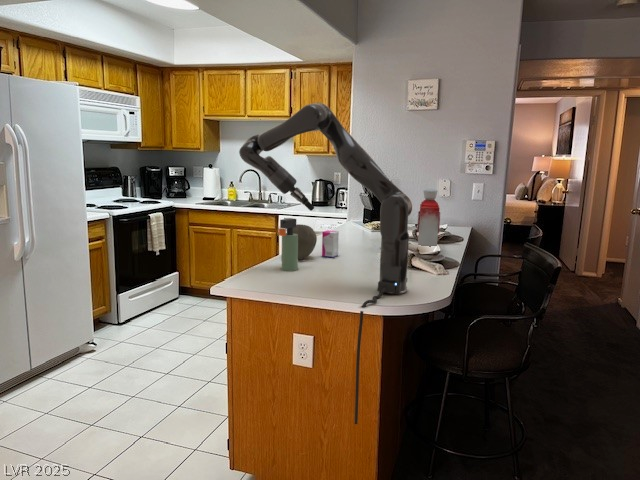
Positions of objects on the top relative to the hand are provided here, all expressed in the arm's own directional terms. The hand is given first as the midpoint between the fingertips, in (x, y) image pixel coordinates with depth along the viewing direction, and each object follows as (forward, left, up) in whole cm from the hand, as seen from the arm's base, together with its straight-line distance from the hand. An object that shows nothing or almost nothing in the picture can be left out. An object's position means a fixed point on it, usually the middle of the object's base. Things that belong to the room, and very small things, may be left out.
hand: (312, 208), depth 196 cm
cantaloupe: (+11, +9, -24) cm, 28 cm away
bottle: (+48, -42, -24) cm, 68 cm away
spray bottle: (-9, +6, -24) cm, 26 cm away
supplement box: (+20, -2, -24) cm, 31 cm away
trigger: (-13, +8, -9) cm, 18 cm away
